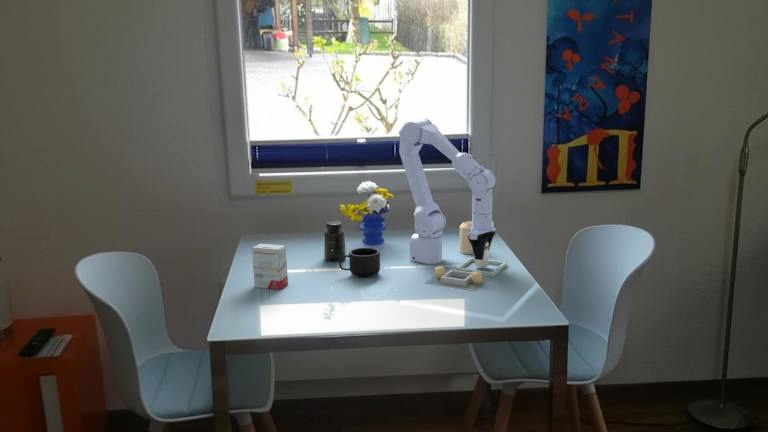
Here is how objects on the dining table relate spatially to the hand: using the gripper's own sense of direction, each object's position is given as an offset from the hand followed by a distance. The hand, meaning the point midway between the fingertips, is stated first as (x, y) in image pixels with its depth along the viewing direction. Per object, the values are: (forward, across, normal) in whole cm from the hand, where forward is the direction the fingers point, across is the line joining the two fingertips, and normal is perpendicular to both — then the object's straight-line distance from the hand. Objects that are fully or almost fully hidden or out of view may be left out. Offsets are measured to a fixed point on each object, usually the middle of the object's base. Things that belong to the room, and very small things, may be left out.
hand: (481, 257), depth 209 cm
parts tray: (+4, 0, 0) cm, 4 cm away
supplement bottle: (+5, -8, +46) cm, 47 cm away
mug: (+5, -18, +31) cm, 36 cm away
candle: (+5, +17, +11) cm, 21 cm away
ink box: (+5, -37, +49) cm, 62 cm away
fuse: (+2, 0, 0) cm, 2 cm away
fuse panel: (+4, -13, +2) cm, 14 cm away
